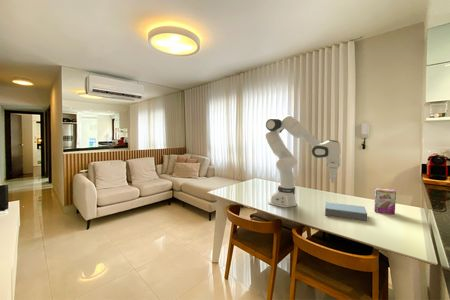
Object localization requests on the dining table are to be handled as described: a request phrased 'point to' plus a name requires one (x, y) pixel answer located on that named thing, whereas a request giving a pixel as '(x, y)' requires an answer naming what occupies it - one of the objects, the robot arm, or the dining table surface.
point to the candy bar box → (385, 201)
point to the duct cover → (345, 208)
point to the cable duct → (346, 215)
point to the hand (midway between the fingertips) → (332, 182)
